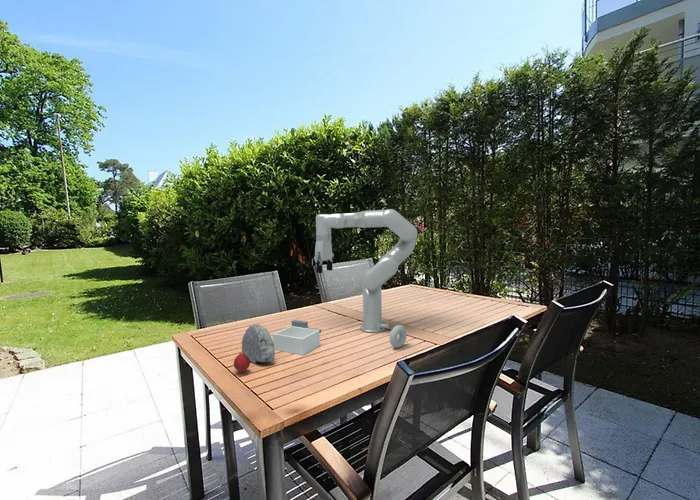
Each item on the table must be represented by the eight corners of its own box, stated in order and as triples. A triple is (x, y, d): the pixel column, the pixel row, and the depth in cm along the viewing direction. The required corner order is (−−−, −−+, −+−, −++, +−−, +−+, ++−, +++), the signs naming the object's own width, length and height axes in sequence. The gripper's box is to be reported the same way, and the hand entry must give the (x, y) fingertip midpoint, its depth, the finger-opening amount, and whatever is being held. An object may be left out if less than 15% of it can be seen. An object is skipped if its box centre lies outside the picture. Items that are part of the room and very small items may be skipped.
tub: (319, 345, 157) (319, 330, 157) (303, 355, 146) (302, 339, 145) (291, 340, 165) (291, 325, 164) (273, 349, 153) (272, 333, 153)
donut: (394, 351, 148) (393, 328, 147) (387, 349, 151) (387, 327, 150) (408, 345, 155) (408, 323, 154) (402, 343, 157) (402, 322, 157)
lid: (321, 332, 176) (320, 319, 176) (305, 341, 164) (305, 327, 164) (294, 328, 184) (294, 316, 183) (278, 336, 172) (277, 323, 171)
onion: (236, 369, 133) (235, 349, 132) (251, 368, 133) (250, 348, 133) (232, 376, 127) (231, 355, 126) (248, 375, 128) (247, 354, 127)
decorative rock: (240, 358, 144) (238, 323, 142) (254, 353, 149) (252, 319, 147) (263, 368, 133) (262, 330, 132) (277, 363, 138) (276, 326, 137)
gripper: (326, 237, 186) (327, 269, 188) (307, 239, 171) (309, 273, 172) (338, 237, 183) (339, 269, 184) (320, 239, 168) (321, 274, 169)
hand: (324, 271), depth 178 cm, fingers open, 9 cm apart
